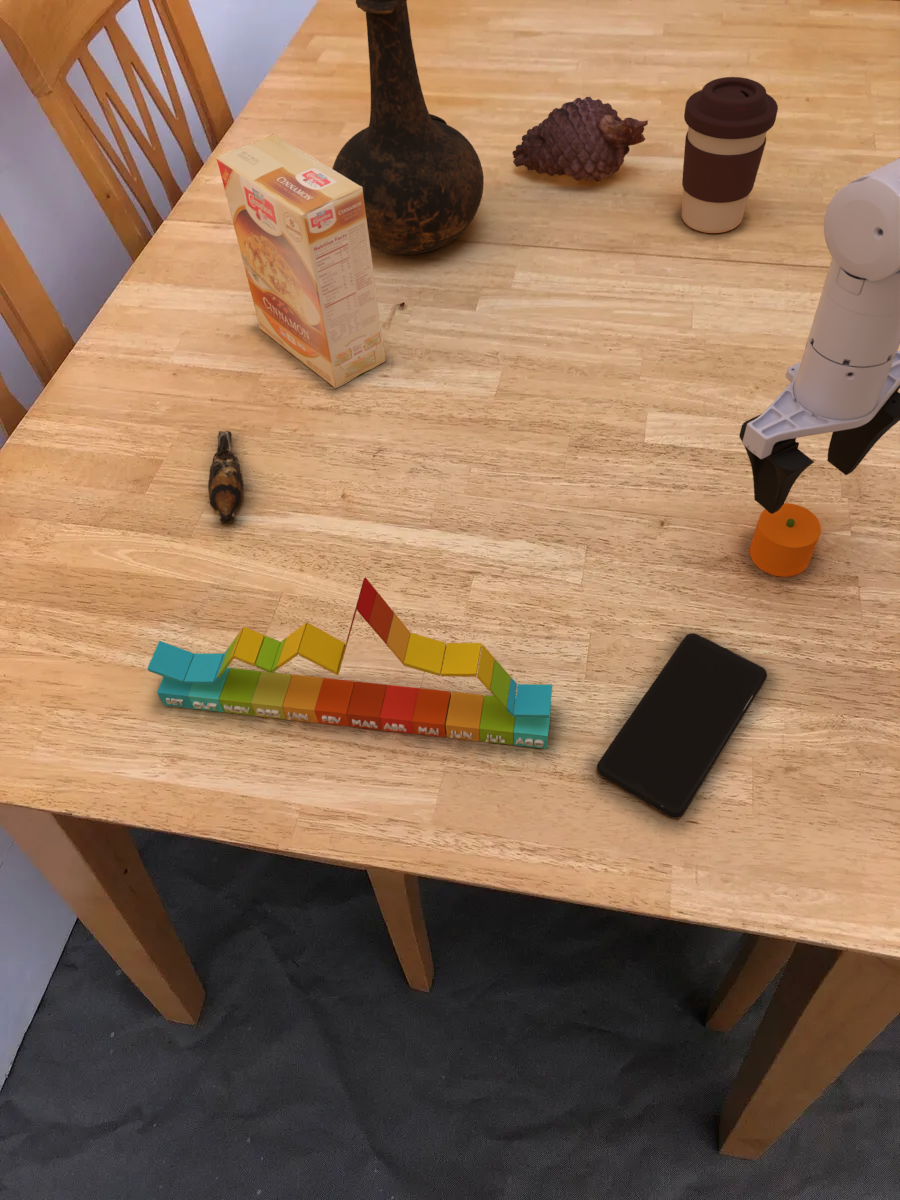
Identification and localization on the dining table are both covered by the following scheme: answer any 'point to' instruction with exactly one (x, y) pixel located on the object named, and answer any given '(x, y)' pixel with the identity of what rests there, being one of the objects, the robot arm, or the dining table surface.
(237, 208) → the coffeecake box
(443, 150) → the dark brown vase
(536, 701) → the chart
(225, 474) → the bird model
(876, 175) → the robot arm
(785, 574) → the mandarin
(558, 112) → the pine cone
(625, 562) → the dining table surface
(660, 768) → the smartphone
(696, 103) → the coffee cup
